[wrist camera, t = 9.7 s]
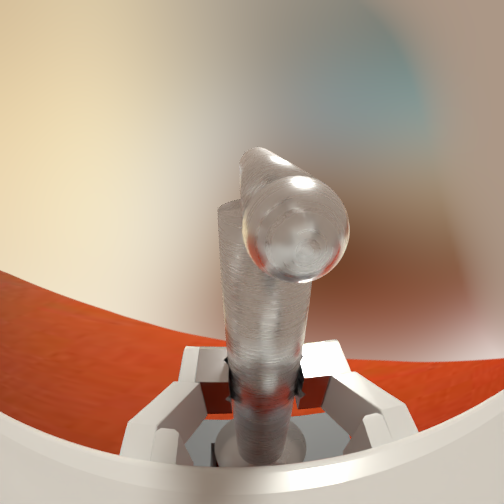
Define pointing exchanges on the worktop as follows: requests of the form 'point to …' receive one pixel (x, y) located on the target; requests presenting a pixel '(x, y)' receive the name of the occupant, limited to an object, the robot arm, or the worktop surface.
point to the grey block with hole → (312, 426)
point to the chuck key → (271, 300)
